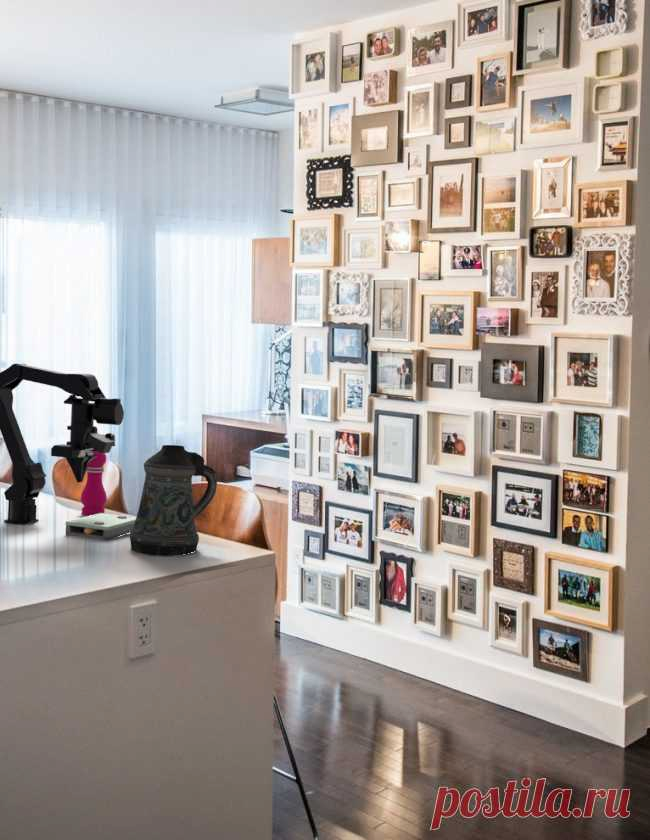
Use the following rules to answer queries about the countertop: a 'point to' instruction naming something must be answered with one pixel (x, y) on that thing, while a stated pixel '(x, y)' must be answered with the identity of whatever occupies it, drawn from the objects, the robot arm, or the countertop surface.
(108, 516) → the cover
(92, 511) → the pepper mill
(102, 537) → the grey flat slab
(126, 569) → the countertop surface
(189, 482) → the beer stein
